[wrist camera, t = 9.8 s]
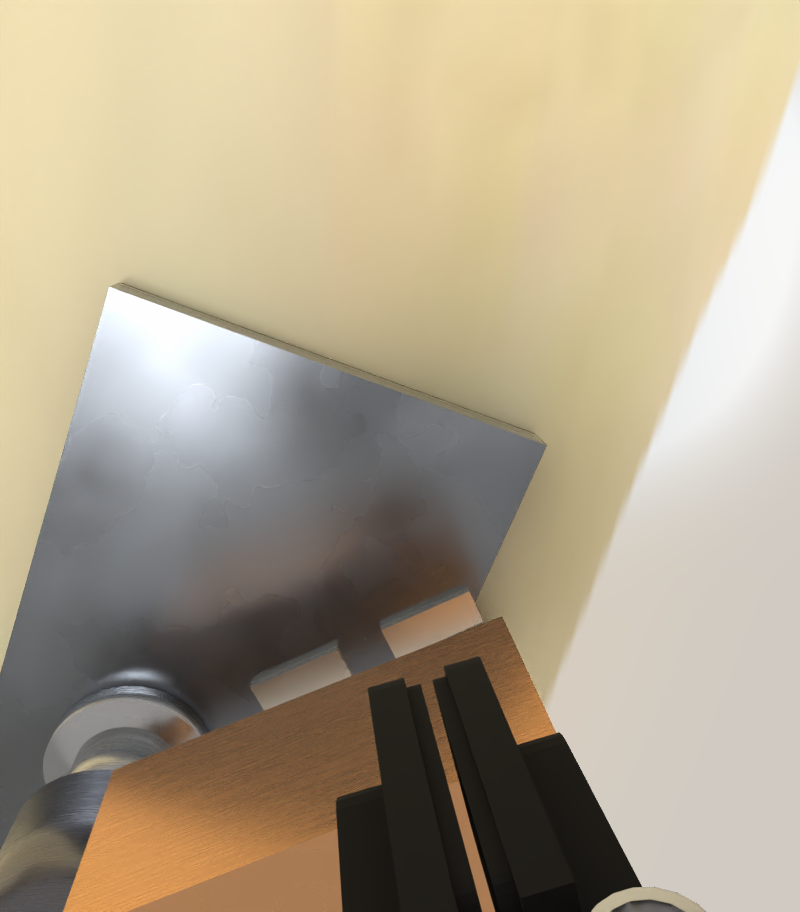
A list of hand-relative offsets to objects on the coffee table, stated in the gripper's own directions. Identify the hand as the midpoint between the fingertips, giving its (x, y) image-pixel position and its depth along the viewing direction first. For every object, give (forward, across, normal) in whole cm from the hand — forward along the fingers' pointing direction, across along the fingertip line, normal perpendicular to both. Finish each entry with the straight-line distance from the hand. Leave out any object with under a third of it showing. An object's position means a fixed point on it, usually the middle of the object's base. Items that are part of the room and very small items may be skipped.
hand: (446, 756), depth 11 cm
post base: (+14, +6, +5) cm, 15 cm away
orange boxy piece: (+9, +5, +6) cm, 12 cm away
